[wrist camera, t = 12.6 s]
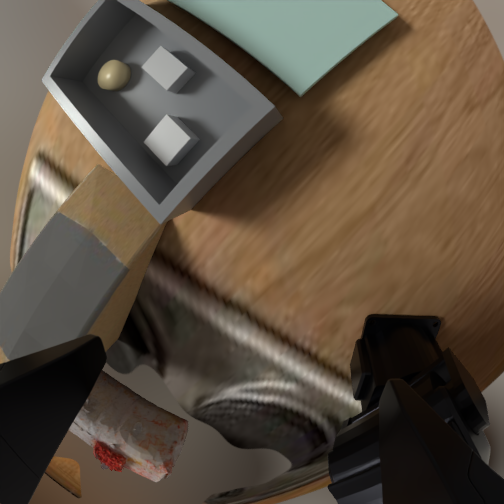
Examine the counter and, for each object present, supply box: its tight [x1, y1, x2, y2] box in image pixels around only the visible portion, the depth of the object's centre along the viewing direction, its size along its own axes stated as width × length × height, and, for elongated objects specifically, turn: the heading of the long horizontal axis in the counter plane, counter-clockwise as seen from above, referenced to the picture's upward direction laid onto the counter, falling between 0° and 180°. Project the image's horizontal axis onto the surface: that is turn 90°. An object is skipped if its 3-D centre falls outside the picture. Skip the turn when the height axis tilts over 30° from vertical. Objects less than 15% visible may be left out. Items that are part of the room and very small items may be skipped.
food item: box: [69, 370, 188, 482], centre depth 25 cm, size 14×8×10 cm, turn 64°
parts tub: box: [42, 0, 283, 225], centre depth 16 cm, size 16×9×4 cm, turn 44°
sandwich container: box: [0, 165, 167, 364], centre depth 17 cm, size 9×15×15 cm, turn 149°
